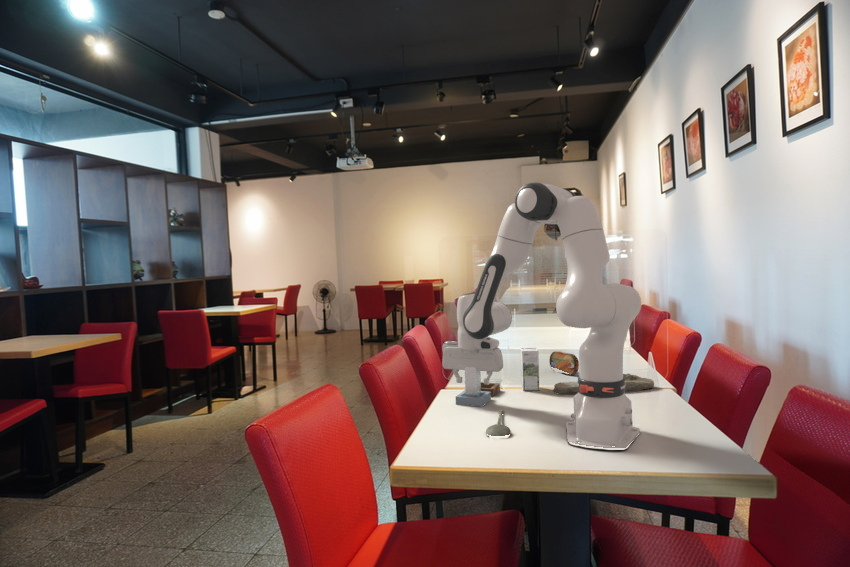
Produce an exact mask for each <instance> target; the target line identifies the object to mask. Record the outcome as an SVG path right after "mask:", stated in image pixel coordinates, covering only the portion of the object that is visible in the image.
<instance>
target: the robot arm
mask: <svg viewBox="0 0 850 567" xmlns="http://www.w3.org/2000/svg"><path fill="white" fill-rule="evenodd" d="M543 225H546V226H547V227H548V226H557V227H558V228H559V232H560V237H561V241H562V246H563V250H564V256H565V260H566V265H567V267H566V268H567V271H566V272H567V276H566V282H565V286H564V288H563V290H562V291H561V293H559V295H558V297H557V299H556V304H555V305H556V306H555V309H556V314H557V317H558V320H560V322H561V323H562V324H563V325H564V326H566V327H570V328H576V329H590V331H589V333H588V336H587V338H586V339H585V340H584V341H583V342H582V343H581V345H580V346H579V349H578V362H579V368H578V371H579V373H578V374H579V376H578V377H577V381H576V382H577V385H578V393H576V394H575V395H574V396H573V413H571V415H570V417H571V419H573V420H571V421H567V422H566V424H565V429H567V432H566V439H568V441H569V442H572V443H575V444H579V445H586V446H594V447H603V448H626V447H627V446H628V445H629V444H630V443H631V442H632V441H633V440H634V439H635V437H636V436H637V435H638V434H639V433H640V434H641V428H638V427H636V426H634V424H633V406H632V400H631V399H630V398H629V397H628V396H627V395H626V394H625V393H626V392H625V379H624V378H623V374H624V366H623V365H624V348H625V343H626V339H627V335H628V332H629V329H630V327H631V324H632V323H633V321H634V320H635V319H636V317H637V316H638V315H639V314H640V311H641V309H642V299H641V296H640V294H639V292H638V291H637V290H636V289H635V288H634V287H633V286H630V285H626V284H621V283H605V284H604V283H603V270H604V268H605V267H606V266H607V265H608V263H609V262H610V256H611V255H610V252H609V248H608V243H607V240H606V236H605V232H604V228H603V223H602V221H601V218H600V215H599V212H598V210H597V208H596V205H595V204H594V202H593V200H592V199H590V198H589V197H587V196H585V195H576V194H575V193H574V192H573V191H571V190H570V189H567V188H562V187H559V186H556V185H554V184H551V183H550V184H549V183H541V182H528V183H526V184H524V185H522V186H521V187H519V189H518V190H517V192H516V194H515V198H514V203H513V202H512V203H511V204H510V205H508V207H507V209H506V211H505V213H504V215H503V218H502V219H501V222H500V226H499V228H498V232H497V237H496V239H495V243H494V246H493V249H492V251H491V253H490V256H489V257H488V259H487V260H486V261H487V262H486V263H485V266H484V268H483V271H482V273H481V276H480V278H479V282H478V283H477V287H476V290H475V292H469V293H468V292H467V293H464V294H461V295H460V296H459V297H458V299H457V305H456V319H457V320H456V321H457V324H458V328H457V341H456V340H455V341H450V340H447V341H445V342H444V343H442V347H441V348H442V349H441V350H442V363H441V364H442V367H443V369H444V370H452V374H453V375H454V377H455V378H456V383H457V384H461V383H463V376H460V374H459V371H460V370H462V371H465V367H476V370H477V371H480V372H486V375H487V376H486V377H485V378H484V379H483V382H484V385H489V383H491V382H490V379H491V377H492V375H493V373H494V372H496V373H497V372H498V373H499V372H501V371H502V369H504V358H503V352H502V350H501V349H500V348H499V346H500V341H499V340H498V339H496V338H493V337H490V336H492V335H493V336H494V335H496V334H499V333H502V332H504V331H507V330H508V329H509V328H510V326H511V325H512V321H513V314H512V312H511V310H510V308H509V307H508V306H507V305H506V304H504V303H503V302H502V303H501V302H498V301H496V298H497V297H498V293H499V290H500V288H501V285H502V283H503V281H504V280H505V279H507V277H508V276H509V275H510V274H512V273H513V272H514V271H516V270H517V269H519V268H521V267H523V265H525V264H526V262H527V261H528V259H529V256H530V254H531V252H532V250H533V245H534V241H535V238H536V234H537V231H538V229H539V228H540V227H541V226H543ZM640 434H639V435H640ZM635 440H636V439H635ZM635 440H634V441H635ZM578 442H580V443H578ZM612 446H615V447H612Z"/></svg>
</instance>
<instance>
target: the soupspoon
mask: <svg viewBox="0 0 850 567" xmlns="http://www.w3.org/2000/svg"><path fill="white" fill-rule="evenodd" d="M502 414H504V415H505V411H504V410H502V409H501V410H499V411H498V419H497V422H496V424H493V425H489V427H487V428H486V431H485V434H488V435H491V436H505V435H509V434H510V435H511V434H512V433H511V432H512V431H511V429H510V427H508V426H507V425H504V424H501V422H502V416H503V415H502Z"/></svg>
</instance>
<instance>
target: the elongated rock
mask: <svg viewBox="0 0 850 567" xmlns="http://www.w3.org/2000/svg"><path fill="white" fill-rule="evenodd" d="M623 378H624V379H625V393H626V392H627V393H628V392H634V391H635V392H640V391H642V390H648V389H652V388H654V387H655V381H654V380H653V379H651V378H647V377H641V376H638V375H636V374H631V373H623ZM577 382H578V381H568V382H561V381H560V382H557V383H555V385H554V386H553V387H554V388H553V392H554V393H555V394H556V393H558V394H557V395H566V394H567V395H570V394H571V395H572V394H575V395H576V394H577V393H578V385H577Z"/></svg>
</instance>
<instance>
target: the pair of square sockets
mask: <svg viewBox="0 0 850 567" xmlns="http://www.w3.org/2000/svg"><path fill="white" fill-rule="evenodd" d="M500 386H501V384H500V383H498V382H497V383H496V382H490V383H489V385H484V381H481V397H480V398H478V397H466V394H465V389H464V390H463V391H462V392H460V393H459V394H457V395H456V396H455V405H459V406H460V405H461V406H469V405H474V406H473V407H481V406H482V407H484V406H485V405H486V404H488V402H490V401H491V400H492V399H491V397H492V398H493V397H494V396H496V395H497V393H499V392H500V391H501V387H500ZM484 404H485V405H484ZM483 405H484V406H483Z"/></svg>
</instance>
